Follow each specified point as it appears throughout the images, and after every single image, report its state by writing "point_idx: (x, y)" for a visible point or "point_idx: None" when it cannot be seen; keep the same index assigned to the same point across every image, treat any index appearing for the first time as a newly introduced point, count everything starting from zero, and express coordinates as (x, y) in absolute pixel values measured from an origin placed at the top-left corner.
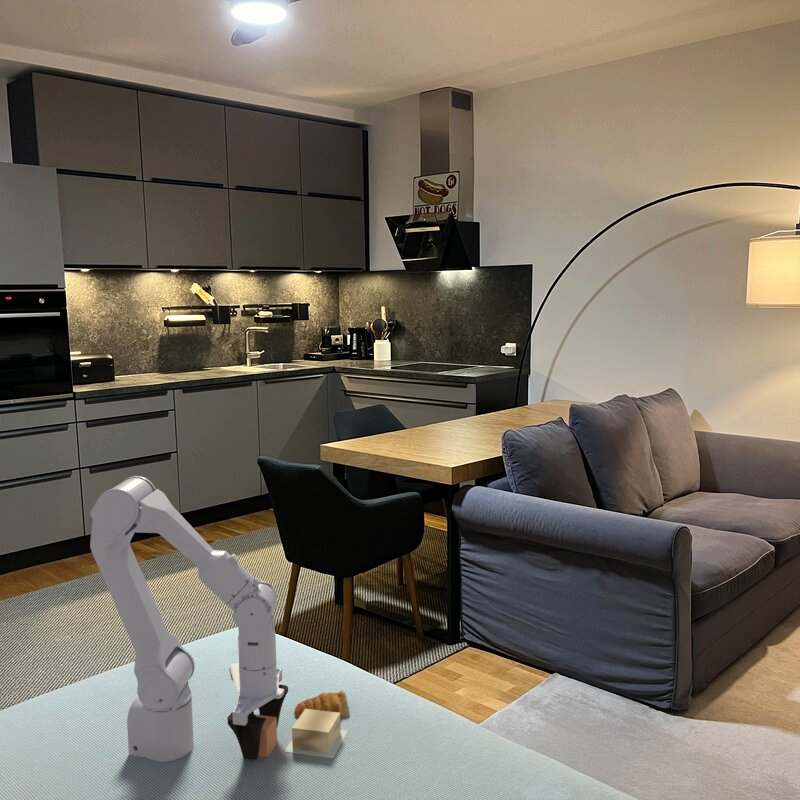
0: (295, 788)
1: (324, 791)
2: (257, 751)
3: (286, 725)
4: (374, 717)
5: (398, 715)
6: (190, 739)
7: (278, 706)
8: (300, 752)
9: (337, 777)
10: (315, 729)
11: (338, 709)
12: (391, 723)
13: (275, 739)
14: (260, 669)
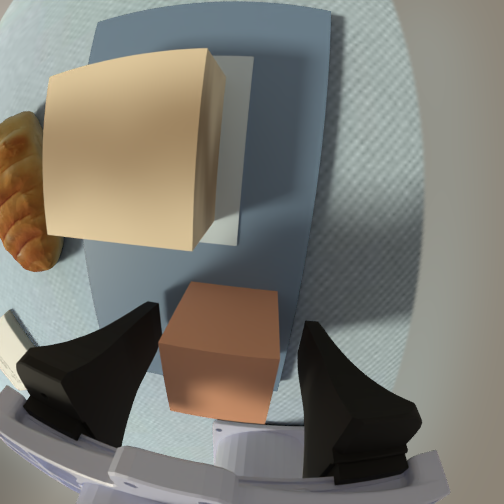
0: (403, 163)
1: (405, 75)
2: (327, 334)
3: (86, 275)
4: (28, 61)
5: (28, 21)
6: (265, 454)
7: (106, 354)
8: (234, 184)
9: (331, 40)
10: (185, 121)
11: (16, 137)
12: (51, 13)
13: (198, 294)
14: None
